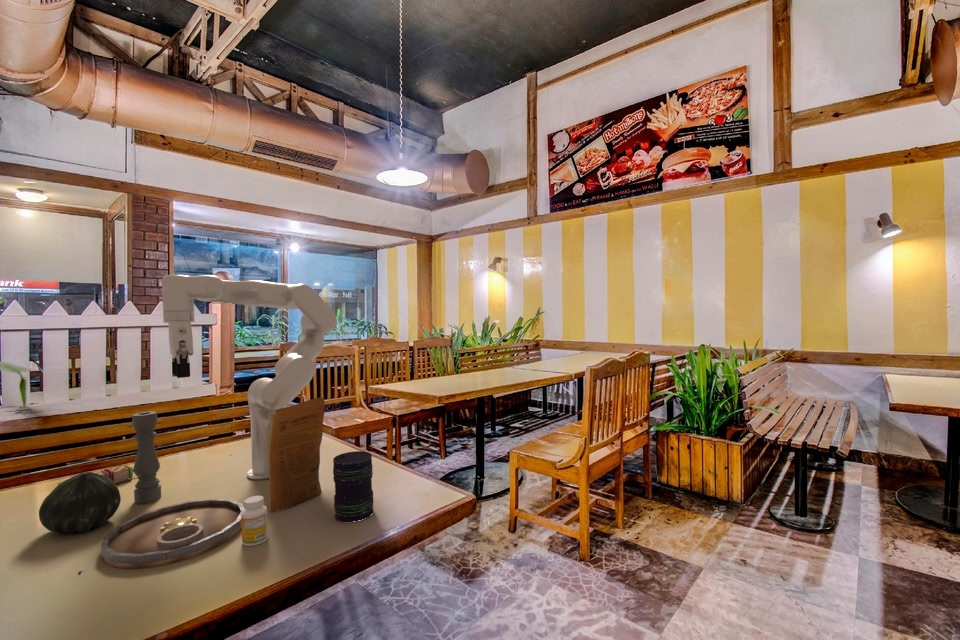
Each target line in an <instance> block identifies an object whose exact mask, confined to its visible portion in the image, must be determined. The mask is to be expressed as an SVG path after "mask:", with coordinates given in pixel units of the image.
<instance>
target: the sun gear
mask: <svg viewBox="0 0 960 640" xmlns="http://www.w3.org/2000/svg"><path fill="white" fill-rule="evenodd" d="M195 523H196V524H197V519H192V517H187V518H183V519H180V518H177V519H176V520H174V521H172V522H166V523H165V524H164V527H161V528H160V534H161V533H162V532H164V531H166V530H169V529H171V528H174V527H177V526H180V525H184V524H195Z"/></svg>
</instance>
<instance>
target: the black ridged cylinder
mask: <svg viewBox="0 0 960 640" xmlns="http://www.w3.org/2000/svg"><path fill="white" fill-rule="evenodd" d="M372 458H373V455H372V453H370V452H368V451H357V450H355V451H349V452H348V451H347V452H344V453H340V454H337V455H336V456H334V457H333V458H332V461H333V462H332V463H333V469H332V470H333V471H332V474H333V477H332V479H333V482H334V495H333V501H334V503H333V506H334V507H333V508H334V513H335V514H334V518H336V519H335V520H336V521H337V520H338V521H337V522H339V521H341V522H340V523H342V522H353V521H358V520H362V519H365V518H367V517H369V516H370V515H371V514H372V513H373V514H374V503H375V502H374V491H373V489H372V488H373V487H372V486H373V484H372V483H373V481H372V478H373V473H374V472H373V459H372ZM373 514H372V515H373ZM370 517H371V516H370ZM370 517H369V518H370ZM367 519H368V518H367ZM365 520H366V519H365Z"/></svg>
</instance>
